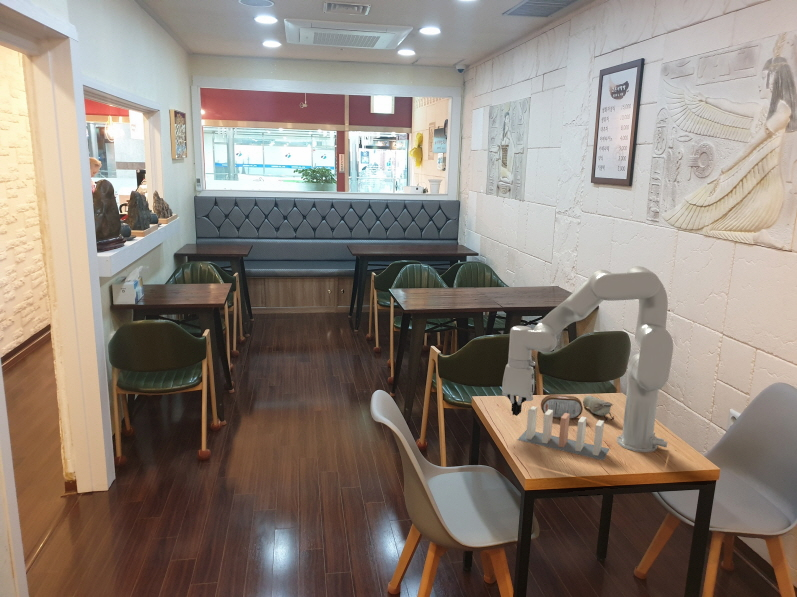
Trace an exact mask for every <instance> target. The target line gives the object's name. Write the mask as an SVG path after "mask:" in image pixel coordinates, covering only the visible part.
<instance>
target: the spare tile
mask: <svg viewBox="0 0 797 597" xmlns="http://www.w3.org/2000/svg"><path fill="white" fill-rule="evenodd" d="M569 418H570V414H568V413H564V415H563V416H562V417H561V418H560V424H559V434H558V435H559V436H558V437H559V447H564V446H565V445H566V443H567V441H568V439H569V429H570V419H569Z"/></svg>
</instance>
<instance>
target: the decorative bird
mask: <svg viewBox="0 0 797 597" xmlns="http://www.w3.org/2000/svg"><path fill="white" fill-rule="evenodd" d="M613 405H615V404H613V403H612V402H608V401H605V400H604V399H601V398H598V397H594V396H592V395H586V396H584V398H583V400H582V407H583V408H584V409H587V408H588V409H589V411H590V412H591V413H592V414H595V415H596V416H600V417H604V420H603V421H604V423H606V422H608V419H609V418H608V417H606V416H607V415H608V414H609V415H610V418H611V419H610V420H609V421H611V422H613V421H615V416H614V415H613V416H612V413H611V407H614V406H613Z"/></svg>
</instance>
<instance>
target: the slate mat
mask: <svg viewBox="0 0 797 597" xmlns="http://www.w3.org/2000/svg"><path fill="white" fill-rule="evenodd" d="M526 433H527V429H525V431H524V432H523V433H522V434H521V435H520V436H519V437H518V439H517V441H521V442H525V443H529V444H534V445H537V446H542V447H546V448H548V449H554V450H556V451H557V450H558V451H562V452H567V453H570V454H575V455H579V456H583V457H588V458H592V459H595V460H600V461H605V459H606V457H607V454H608V453H609V451H610V448H608V447H604V446H602V447H601V451H600V453H599V455H598V456H597V455H593V448H594V444H591V443H586V442H584V447H583V448H582V450H581V452H580V451H576V440H573V439H569V438H568V441H567V443H566V445H565V446H564V447H559V436H556V435H552V434H551V439H550V440H549V441H548V443H547V444H546V443H542V437H543V432H539V431H535V435H534V437H533V438H532V439H531V440H530V439H526Z"/></svg>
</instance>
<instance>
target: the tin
mask: <svg viewBox="0 0 797 597" xmlns="http://www.w3.org/2000/svg"><path fill="white" fill-rule="evenodd" d="M583 408H584V406H583V402H582V401H581V400H580V399H579V398H578V397H576V396H573V395H559V394H549V395H546V396H545V397H544V398H542V399H541V402H540V409H541V411H542V413H543V415H544V414H545V413H546V412H547V411H548V409H549V410H553V419H561V417H562V416H563V415H564V413H568V414H570V418H569V420H575V419H577V418H579V417H580V416H581V415H582V413H583Z"/></svg>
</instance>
